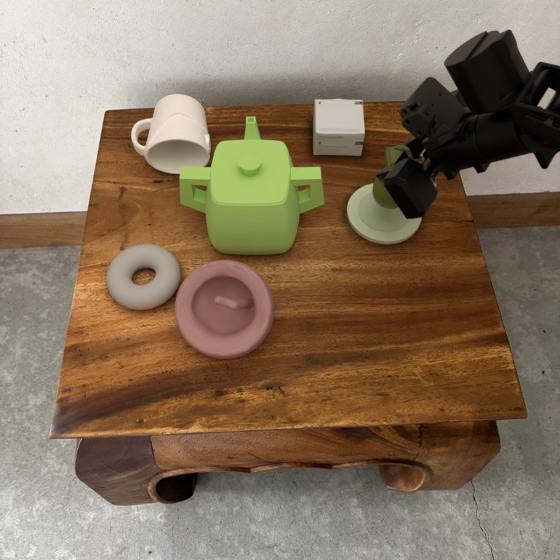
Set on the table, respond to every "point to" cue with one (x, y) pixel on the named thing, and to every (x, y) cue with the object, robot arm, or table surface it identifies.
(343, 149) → the small box
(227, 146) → the teapot
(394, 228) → the plate
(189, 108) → the mug
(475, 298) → the table surface
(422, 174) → the robot arm
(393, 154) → the olive green lumpy piece
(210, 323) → the mortar and pestle
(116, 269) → the donut
